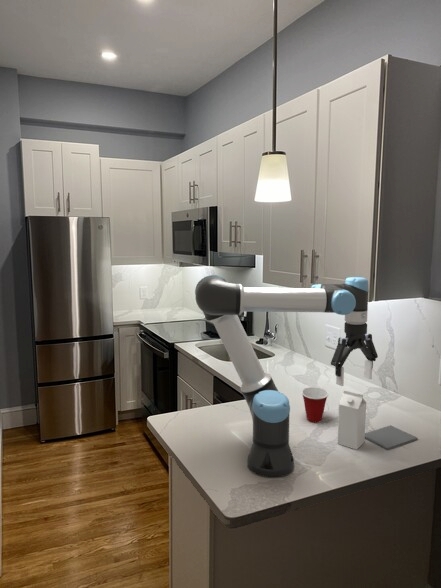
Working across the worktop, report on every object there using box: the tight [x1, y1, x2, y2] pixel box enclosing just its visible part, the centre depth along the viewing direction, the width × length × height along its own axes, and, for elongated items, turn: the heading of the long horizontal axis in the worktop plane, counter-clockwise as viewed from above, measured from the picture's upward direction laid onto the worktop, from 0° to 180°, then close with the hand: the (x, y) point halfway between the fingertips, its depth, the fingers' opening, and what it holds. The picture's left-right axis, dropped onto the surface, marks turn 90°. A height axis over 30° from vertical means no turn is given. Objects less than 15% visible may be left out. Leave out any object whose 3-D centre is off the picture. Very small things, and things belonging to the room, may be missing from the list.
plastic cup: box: [300, 386, 330, 424], centre depth 179 cm, size 11×11×12 cm
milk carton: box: [337, 390, 367, 450], centre depth 159 cm, size 7×7×19 cm
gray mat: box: [365, 424, 419, 451], centre depth 164 cm, size 16×12×1 cm
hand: (354, 381), depth 157 cm, fingers open, 13 cm apart
